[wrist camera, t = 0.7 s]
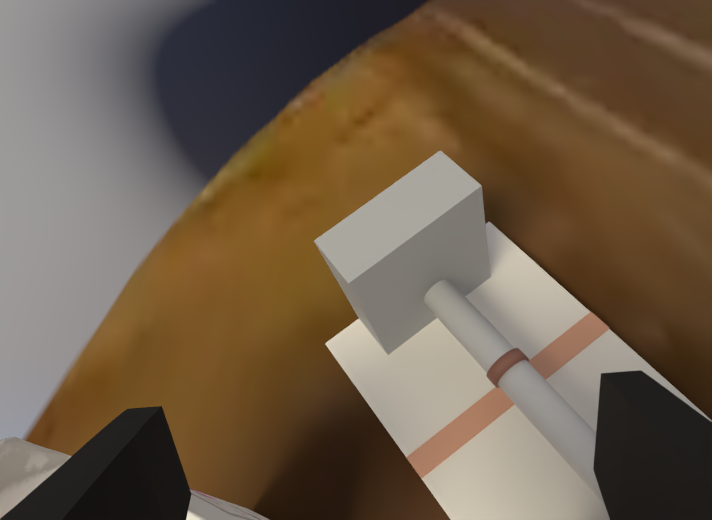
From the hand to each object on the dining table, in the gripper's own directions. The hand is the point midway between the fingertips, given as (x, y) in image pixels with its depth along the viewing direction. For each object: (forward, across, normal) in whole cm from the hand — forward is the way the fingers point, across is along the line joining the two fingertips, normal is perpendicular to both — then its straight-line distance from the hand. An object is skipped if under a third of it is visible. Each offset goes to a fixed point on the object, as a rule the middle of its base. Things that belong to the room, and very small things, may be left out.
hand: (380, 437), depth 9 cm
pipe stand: (+10, -6, +11) cm, 16 cm away
